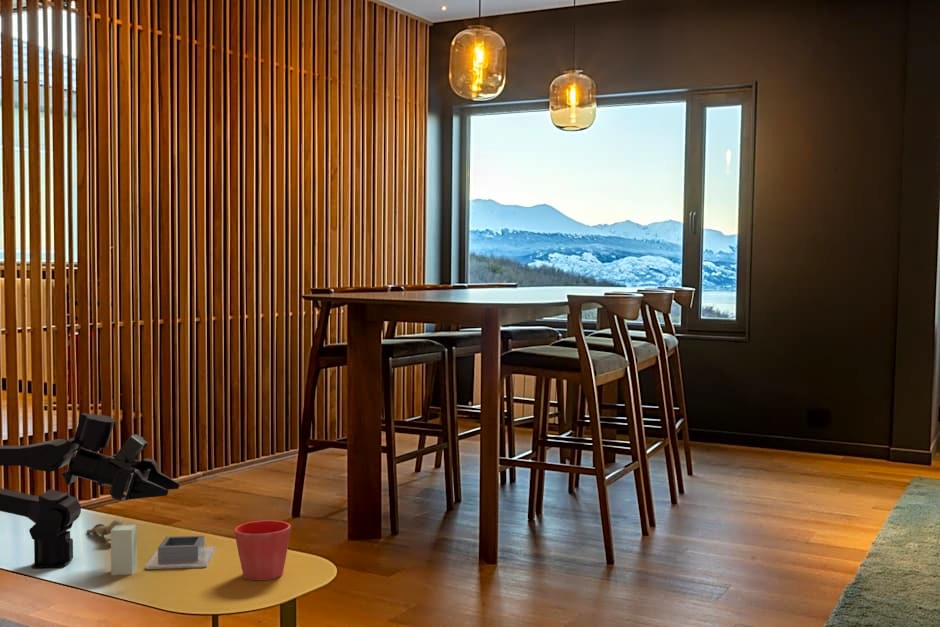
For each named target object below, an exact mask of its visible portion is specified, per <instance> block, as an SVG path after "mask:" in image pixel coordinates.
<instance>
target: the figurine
mask: <svg viewBox="0 0 940 627" xmlns="http://www.w3.org/2000/svg"><path fill="white" fill-rule="evenodd" d="M116 525H125V524H124V522H123V521H122V520H121V519H120V518H116V519H114V520H113V521H112V522H111V523H110V524H109V525H104V524H103V523H98V524H96V525H94V526H93V527H92V528H91V529H87V530H86V533H87V534H94V533H97V534H98V535H99V536H101V537H100V538H101V541H102V542H106V539H105V536H107V535H111V530H112V529H113V528H114V527H115V526H116Z"/></svg>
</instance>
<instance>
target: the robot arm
mask: <svg viewBox="0 0 940 627" xmlns="http://www.w3.org/2000/svg"><path fill="white" fill-rule="evenodd" d="M115 421H116V420H115V419H114V418H112V417H111V416H108V415H105V414H95V413H90V414H89V413H86V412H82V413H81V414H79V417H78V421H77V422H78V424H77V428H76V431H75V434H74V436H73V437H71V438H69V439H67V440H66V439H63V438H56V439H52V440H46V441H45V440H44V441H42V442H38V443H37V442H36V443H32V444H26V445H21V444H20V445H18V444H17V445H0V466H1V467H4V466H5V467H7V466H9V467H10V466H12V467H13V466H14V467H15V466H20V467H26V468H28V469H30V470H34V471H39V472H40V471H42V472H48V473H50V472H51V473H52V472H55V471H57V470H59V469H60V468H63V467H64V466H66V465H68V467H67V470H66V471H64V472H62V473H61V476H62V477H63V479H64V482H65V485H67V486H69V485H71V484H72V483H74V482H76V481H77V478H80V479H85V480H88V481H92V482H95V483H96V485H97V486H100V487H103V486H108V487H111V488H110V490H109V494H110V496H111V498H112V499H114V500H116V501H121V502H122V501H123V500H125V501H129V500H130V501H131V500H137V499H148V498H156V497H157V498H158V497H165V496H166V497H167V496H168V495H169V492H170V491H171V490H178V489H180V486H181V483H179V482H177V481H176V480H174V479H172V478H171V477H169V476H168V475H166V474H164V473H163V472H161V471H160V469H159V467H158V463H157V461H156V460H155V459H152V458H148V457H146V458H144V459H141V460H140V461H139V460H138V459H137V457H138V456H139V455H140V454H141V452H142V451H143V450H144V449H146V448H147V447H148V445H149V442H148V441H146V440H145V438H144V436H140V435H138V434H133V435H130V436H129V438H128V439H127V440H126V441H125V442H124V444H123V445H122V446H121V447H120V449H119V450H118V452H117V453H115V454H113V455H106V454H102V453H100V451H101V450H102V449H104V448H107V447H108V445H109V442H110V438H111V435H112V432H113V430H114V429H113V428H114V425H115ZM74 454H75V455H74ZM125 493H126V494H125ZM70 494H71V492H62V491H58V490H56V489H52V488H51V489H49V490H47V491H45V492H43V493H42V494H39V495H32V494H28V493H25V492H24V493H23V492H19V491H14V490H9V489H7V488H1V487H0V512H3V513H8V514H11V515H16V516H21V517H25V518H27V519H29V520H30V521H31V522H33V523H34V524H33V526H32V527H30V528H29V530H28V531H29V533H30V536H31V540H33V543H34V544H33V550H34V551H33V552H34V554H33V555H34V557H33V558H34V562H33V563H32V564H31V569H32V568H33V569H36V568H37V569H39V568H41V569H43V568H63V567H66V565H68V564H69V563H70V562H71V561H72V560H73V559H74V540H73V538H71V531H70V530H71V528H72V527H73V526H74V525H73V524H74V522H75V521H76V520H78V518H79V517H80V515H81V513H82V507H81V503H80V502H79V500H78V498H76V497H75V496H73V495H70Z"/></svg>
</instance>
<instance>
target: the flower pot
mask: <svg viewBox="0 0 940 627" xmlns="http://www.w3.org/2000/svg"><path fill="white" fill-rule="evenodd" d="M291 526H292V525H291V524H290V523H289V522H285V521H282V520H270V519H269V520H268V519H267V520H255V521H249V522H245V523H243V524H239V525H238V526H236V527H235V528H234V536H235V542H236V547H237V552H238V557H239V561H240V566H241V571H242V574H243V578H245V579H247V580H251V581H258V580H259V581H268V580H273V579H277V578H279V577H281V576H282V575H283V574H284V570H285V565H286V558H287V553H288V548H289V543H290V542H289V541H290V536H291V535H290V534H291V529H292V528H291Z"/></svg>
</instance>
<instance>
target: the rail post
mask: <svg viewBox="0 0 940 627" xmlns="http://www.w3.org/2000/svg"><path fill="white" fill-rule="evenodd" d="M137 539H138V538H137V524H124V525H116V526H115V527H114V528H113V529H112V530H111V534H110V563H111V564H110V568H111V570H110V571H111V572H110V574H111V576H121V575H122V576H123V575H124V576H125V575H128V576H130V575H133V574H134V573H135V571H137V569H138V562H137V561H138V559H137V558H138V556H137V552H138V551H137V549H138V548H137V547H138V546H137V545H138V543H137V542H138V540H137Z"/></svg>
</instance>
